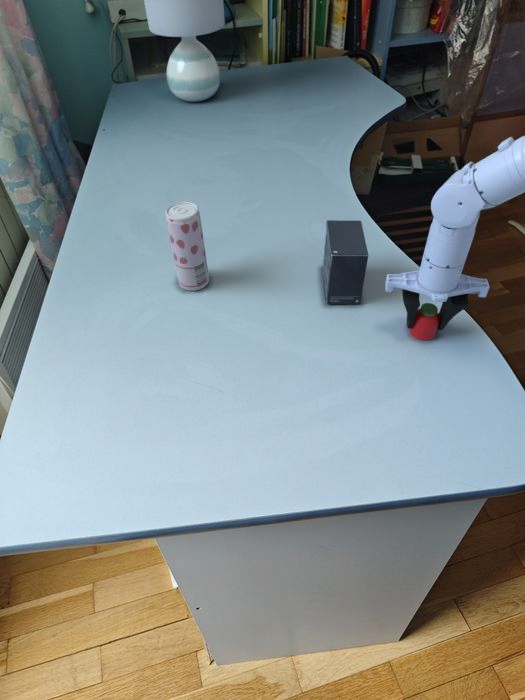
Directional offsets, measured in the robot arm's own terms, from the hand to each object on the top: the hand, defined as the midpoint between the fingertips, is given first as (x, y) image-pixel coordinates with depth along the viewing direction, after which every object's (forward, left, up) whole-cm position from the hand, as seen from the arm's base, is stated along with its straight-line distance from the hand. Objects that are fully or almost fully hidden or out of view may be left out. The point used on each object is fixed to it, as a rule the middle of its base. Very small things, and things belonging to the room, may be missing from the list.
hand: (424, 325), depth 78 cm
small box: (+12, -12, -2) cm, 17 cm away
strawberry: (0, 0, -1) cm, 1 cm away
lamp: (+48, -106, -2) cm, 116 cm away
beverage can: (+39, -14, -2) cm, 41 cm away
